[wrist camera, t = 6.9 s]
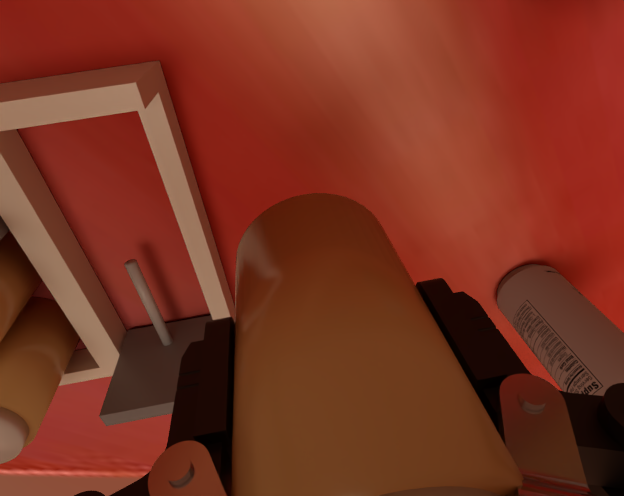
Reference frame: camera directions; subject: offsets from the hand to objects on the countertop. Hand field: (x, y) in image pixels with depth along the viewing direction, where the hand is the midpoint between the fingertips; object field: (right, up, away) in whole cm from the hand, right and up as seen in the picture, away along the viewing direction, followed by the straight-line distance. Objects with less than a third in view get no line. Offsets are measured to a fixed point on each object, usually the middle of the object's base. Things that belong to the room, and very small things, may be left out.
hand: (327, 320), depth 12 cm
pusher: (-13, -1, +20) cm, 23 cm away
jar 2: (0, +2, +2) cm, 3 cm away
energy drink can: (+19, -1, +26) cm, 32 cm away
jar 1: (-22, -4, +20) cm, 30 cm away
